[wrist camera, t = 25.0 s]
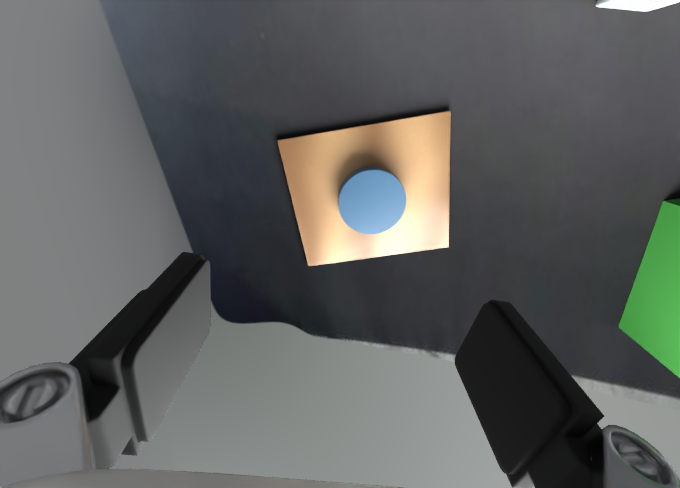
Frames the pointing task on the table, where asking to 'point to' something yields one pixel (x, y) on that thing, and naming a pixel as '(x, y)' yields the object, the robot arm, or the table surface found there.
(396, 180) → the lid
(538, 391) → the robot arm
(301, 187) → the copper metallic mat
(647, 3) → the medicine box
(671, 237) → the hardback book
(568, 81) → the table surface
